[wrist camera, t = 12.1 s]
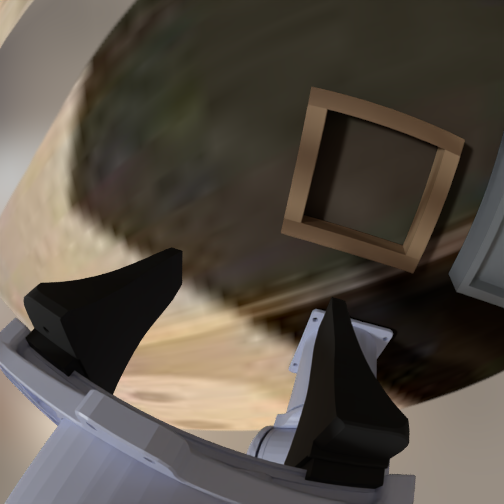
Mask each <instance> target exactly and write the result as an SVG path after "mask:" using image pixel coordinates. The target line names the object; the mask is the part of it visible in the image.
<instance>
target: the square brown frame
mask: <svg viewBox="0 0 504 504" xmlns="http://www.w3.org/2000/svg"><path fill="white" fill-rule="evenodd" d="M328 109H329V110H333V111H337V112H340V113H344V114H348V115H351V116H354V117H358V118H361V119H365V120H368V121H371V122H374V123H377V124H380V125H383V126H386V127H389V128H392V129H395V130H398V131H400V132H403V133H406V134H408V135H411V136H414V137H416V138H419V139H421V140H424V141H426V142H429V143H431V144H433V145H436V146H438V149H437V153H436V156H435V160H434V163H433V166H432V169H431V172H430V175H429V178H428V181H427V184H426V187H425V190H424V193H423V196H422V199H421V201H420V204H419V207H418V209H417V212H416V215H415V217H414V220H413V222H412V225H411V227H410V230H409V232H408V234H407V237H406V239H405V242H404V244H403V245H400V244H397V243H394V242H391V241H388V240H385V239H381V238H378V237H375V236H372V235H369V234H366V233H363V232H359V231H356V230H353V229H350V228H346V227H343V226H340V225H337V224H333V223H330V222H326V221H323V220H320V219H316V218H313V217H309V216H306V215H304V212H305V208H306V204H307V200H308V196H309V192H310V187H311V183H312V179H313V175H314V171H315V167H316V162H317V158H318V154H319V149H320V145H321V140H322V136H323V131H324V127H325V122H326V117H327V113H328ZM464 141H465V140H464V139H462V138H460V137H458V136H456V135H454V134H452V133H450V132H447V131H445V130H443V129H441V128H438V127H436V126H434V125H432V124H429V123H427V122H424V121H422V120H419V119H417V118H414V117H412V116H409V115H407V114H404V113H401V112H398V111H396V110H393V109H390V108H387V107H384V106H381V105H378V104H375V103H372V102H368V101H365V100H362V99H358V98H355V97H351V96H348V95H344V94H340V93H336V92H332V91H328V90H324V89H320V88H315V87H311V92H310V97H309V103H308V108H307V113H306V118H305V123H304V128H303V133H302V137H301V142H300V147H299V152H298V157H297V161H296V166H295V171H294V176H293V180H292V185H291V189H290V194H289V199H288V203H287V208H286V212H285V217H284V221H283V226H282V230H281V233H282V234H286V235H289V236H293V237H296V238H300V239H303V240H306V241H310V242H313V243H317V244H320V245H323V246H327V247H330V248H333V249H337V250H340V251H343V252H347V253H350V254H353V255H357V256H360V257H363V258H366V259H370V260H373V261H376V262H379V263H382V264H386V265H389V266H392V267H395V268H398V269H401V270H404V271H408V272H411V273H414V271H415V269H416V267H417V265H418V263H419V260H420V258H421V256H422V254H423V252H424V250H425V248H426V246H427V243H428V241H429V239H430V237H431V234H432V232H433V230H434V227H435V225H436V223H437V220H438V218H439V215H440V213H441V210H442V208H443V205H444V202H445V200H446V197H447V194H448V192H449V189H450V186H451V183H452V180H453V177H454V174H455V171H456V168H457V165H458V162H459V159H460V155H461V152H462V148H463V145H464Z"/></svg>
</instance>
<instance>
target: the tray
mask: <svg viewBox="0 0 504 504" xmlns="http://www.w3.org/2000/svg"><path fill="white" fill-rule="evenodd" d="M449 276H450V278H451V280H452V283H453V285H454V287H455V290H456V292H459V293H462V294H465V295H468V296H471V297H474V298H477V299H480V300H483V301H486V302H489V303H491V304H494V305H497V306H500V307H503V308H504V132H503V136H502V140H501V144H500V148H499V151H498V155H497V158H496V162H495V165H494V168H493V171H492V174H491V177H490V180H489V183H488V186H487V189H486V192H485V194H484V197H483V200H482V202H481V205H480V207H479V210H478V212H477V215H476V217H475V219H474V222H473V224H472V226H471V229H470V231H469V233H468V235H467V238H466V240H465V242H464V244H463V246H462V248H461V250H460V252H459V254H458V256H457V258H456V260H455V262H454V264H453V266H452V268H451V270H450V272H449Z"/></svg>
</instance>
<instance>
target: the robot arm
mask: <svg viewBox="0 0 504 504" xmlns="http://www.w3.org/2000/svg"><path fill="white" fill-rule="evenodd" d="M181 285H182V251H181V250H178V249H175V248H169V249H166V250H164V251H161V252H159V253H157V254H154V255H152V256H150V257H148V258H145V259H143V260H141V261H138V262H136V263H133V264H131V265H128V266H126V267H123V268H121V269H118V270H115V271H112V272H109V273H105V274H102V275H98V276H94V277H89V278H85V279H80V280H73V281H65V282H49V283H40V284H39V285H37V286H36V287H35V288H34V289H33V290H32V291H30V292H29V293H28V294H27V295H26V296H25V297H24V306H25V308H26V311H27V313H28V315H29V318H30V320H31V322H32V324H33V326H34V329H33V330H32V331H30V330H29V329H28V328H27V327H26V326H25V325H24V324H23V323H22V322H21V321H19V320H18V319H17V318H14V319H13V320H12V321H11V322H10V323H9V324H8V325H7V326H6V327H5V328H4V329H3V330H2V331H1V332H0V369H1V370H2V371H3V373H4V374H5V375H6V377H7V378H8V379H9V380H10V381H11V382H12V383H13V384H14V385H15V386H16V387H17V388H18V389H19V390H20V391H21V392H22V393H23V394H24V395H25V396H26V397H27V398H28V399H29V400H30V401H31V402H32V403H33V404H34V405H35V406H36V407H37V408H38V409H40V411H42V412H43V413H44V414H45V415H46V416H47V417H48V418H49V419H51V420H52V421H53V422H54V423H55V424H56V425H57V426H58V427H57V428H56V429H55V431H54V432H53V434H52V435H51V436H50V438H49V439H48V440H47V442H46V443H45V445H44V446H43V447H42V449H41V450H40V452H39V453H38V455H37V456H36V457H35V459H34V460H33V462H32V463H31V464H30V466H29V467H28V469H27V470H26V472H25V473H24V475H23V476H22V478H21V479H20V480H19V482H18V483H17V485H16V487H15V488H14V490H13V491H12V493H11V494H10V496H9V497H8V499H7V500H6V502H5V503H4V504H413V501H414V491H415V477H416V476H415V475H401V474H389V463H390V458H392V457H393V456H395V455H396V454H398V453H400V452H401V451H402V450H404V449H405V448H406V447H407V446H408V444H409V422H408V418H406V416H405V415H404V414H403V413H402V412H401V411H400V410H399V409H398V407H397V406H396V405H395V404H394V403H393V401H392V400H391V399H390V398H389V396H388V395H387V394H386V392H385V391H384V389H383V388H382V386H381V385H380V383H379V382H378V380H377V379H376V376H377V358H378V357H379V355H380V354H381V353H382V351H383V350H384V348H385V347H386V345H387V344H388V342H389V341H390V339H391V338H392V336H393V331H392V330H390V329H387V328H383V327H380V326H376V325H372V324H369V323H365V322H361V321H358V320H354V319H351V318H350V316H349V312H348V309H347V305H346V302H345V301H344V300H340V299H337V298H334V297H332V298H331V300H330V303H329V305H328V307H327V310H326V311H323V310H319V309H315V310H313V311H312V313H311V316H310V318H309V321H308V323H307V326H306V328H305V331H304V333H303V336H302V338H301V340H300V343H299V345H298V348H297V350H296V352H295V355H294V357H293V359H292V362H291V364H290V366H289V371H291V372H293V373H297V375H296V379H295V383H294V386H293V390H292V394H291V398H290V401H289V405H288V408H287V412H286V414H278V415H277V417H276V420H275V423H274V426H266V427H264V428H263V429H261V430H260V431H259V432H258V434H257V435H256V436H255V437H254V439H253V440H252V442H251V444H250V446H249V448H248V451H247V454H244V453H241V452H237V451H235V450H232V449H229V448H226V447H223V446H220V445H218V444H215V443H212V442H210V441H207V440H204V439H202V438H199V437H197V436H194V435H192V434H190V433H187V432H185V431H183V430H180V429H178V428H176V427H174V426H171V425H169V424H167V423H165V422H163V421H161V420H159V419H157V418H155V417H153V416H151V415H149V414H147V413H145V412H143V411H141V410H139V409H137V408H135V407H133V406H131V405H130V404H128V403H126V402H124V401H122V400H121V399H119V398H117V397H116V396H114V395H113V393H114V391H115V389H116V386H117V384H118V382H119V380H120V378H121V376H122V374H123V372H124V370H125V368H126V366H127V364H128V362H129V360H130V358H131V357H132V355H133V353H134V351H135V350H136V348H137V346H138V345H139V343H140V342H141V340H142V338H143V337H144V335H145V334H146V333H147V331H148V330H149V329H150V327H151V326H152V325H153V324H154V322H155V321H156V320H157V319H158V318H159V316H160V315H161V314H162V313H163V311H164V310H165V309H166V308H167V306H168V305H169V304H170V303H171V301H172V300H173V299H174V297H175V295H176V294H177V292H178V290H179V289H180V287H181ZM314 318H317V319H314ZM384 337H387V338H384ZM388 474H389V475H388Z"/></svg>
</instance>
